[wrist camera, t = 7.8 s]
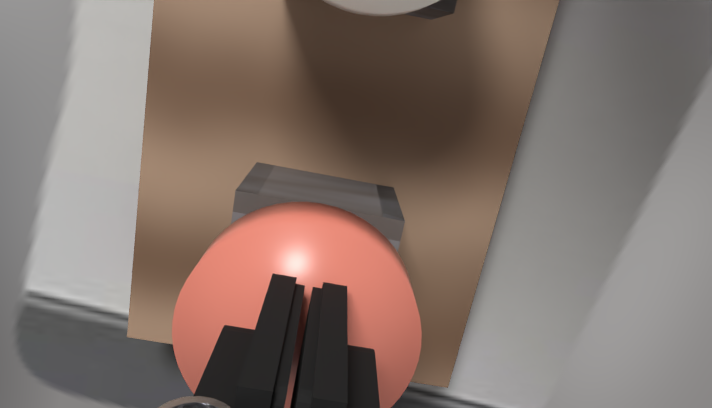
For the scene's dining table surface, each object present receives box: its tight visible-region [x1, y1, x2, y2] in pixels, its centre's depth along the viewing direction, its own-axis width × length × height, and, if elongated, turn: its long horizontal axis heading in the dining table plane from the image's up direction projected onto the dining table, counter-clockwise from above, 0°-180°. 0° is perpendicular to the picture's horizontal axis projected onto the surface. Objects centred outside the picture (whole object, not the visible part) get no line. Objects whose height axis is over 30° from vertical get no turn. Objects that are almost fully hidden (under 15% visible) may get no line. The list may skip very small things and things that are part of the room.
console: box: [127, 0, 559, 388], centre depth 16 cm, size 20×12×6 cm, turn 169°
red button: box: [172, 202, 422, 408], centre depth 14 cm, size 6×6×5 cm
